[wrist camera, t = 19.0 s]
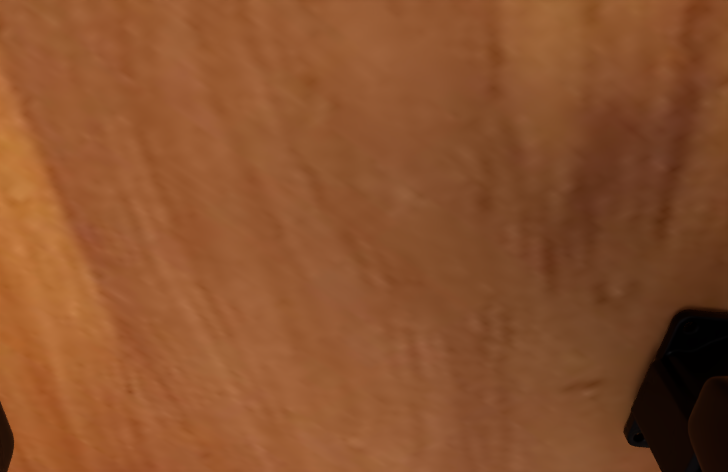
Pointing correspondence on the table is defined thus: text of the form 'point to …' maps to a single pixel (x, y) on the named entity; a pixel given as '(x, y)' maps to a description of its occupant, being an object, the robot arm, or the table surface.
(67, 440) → the table surface
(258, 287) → the table surface
